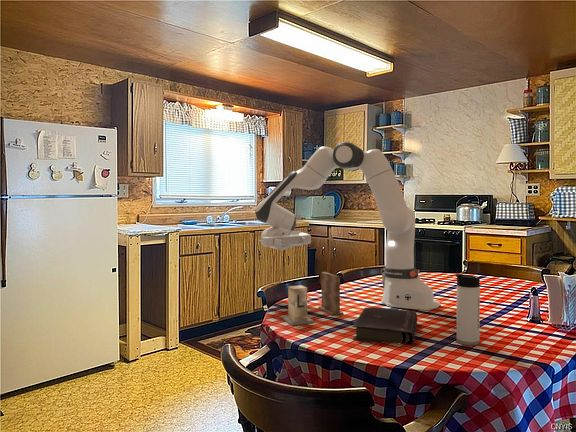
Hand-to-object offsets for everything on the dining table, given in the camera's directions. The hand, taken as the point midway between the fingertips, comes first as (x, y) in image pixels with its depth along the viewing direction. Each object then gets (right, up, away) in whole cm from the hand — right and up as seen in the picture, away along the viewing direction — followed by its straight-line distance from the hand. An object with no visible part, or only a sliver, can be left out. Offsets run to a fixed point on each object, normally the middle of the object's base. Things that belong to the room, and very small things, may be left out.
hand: (293, 241), depth 178 cm
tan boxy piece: (+1, -26, -19) cm, 32 cm away
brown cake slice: (+47, -24, +32) cm, 61 cm away
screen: (+14, -26, -7) cm, 30 cm away
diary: (+29, -27, -32) cm, 51 cm away
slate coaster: (+1, -26, -19) cm, 33 cm away
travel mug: (+50, -27, -44) cm, 72 cm away
